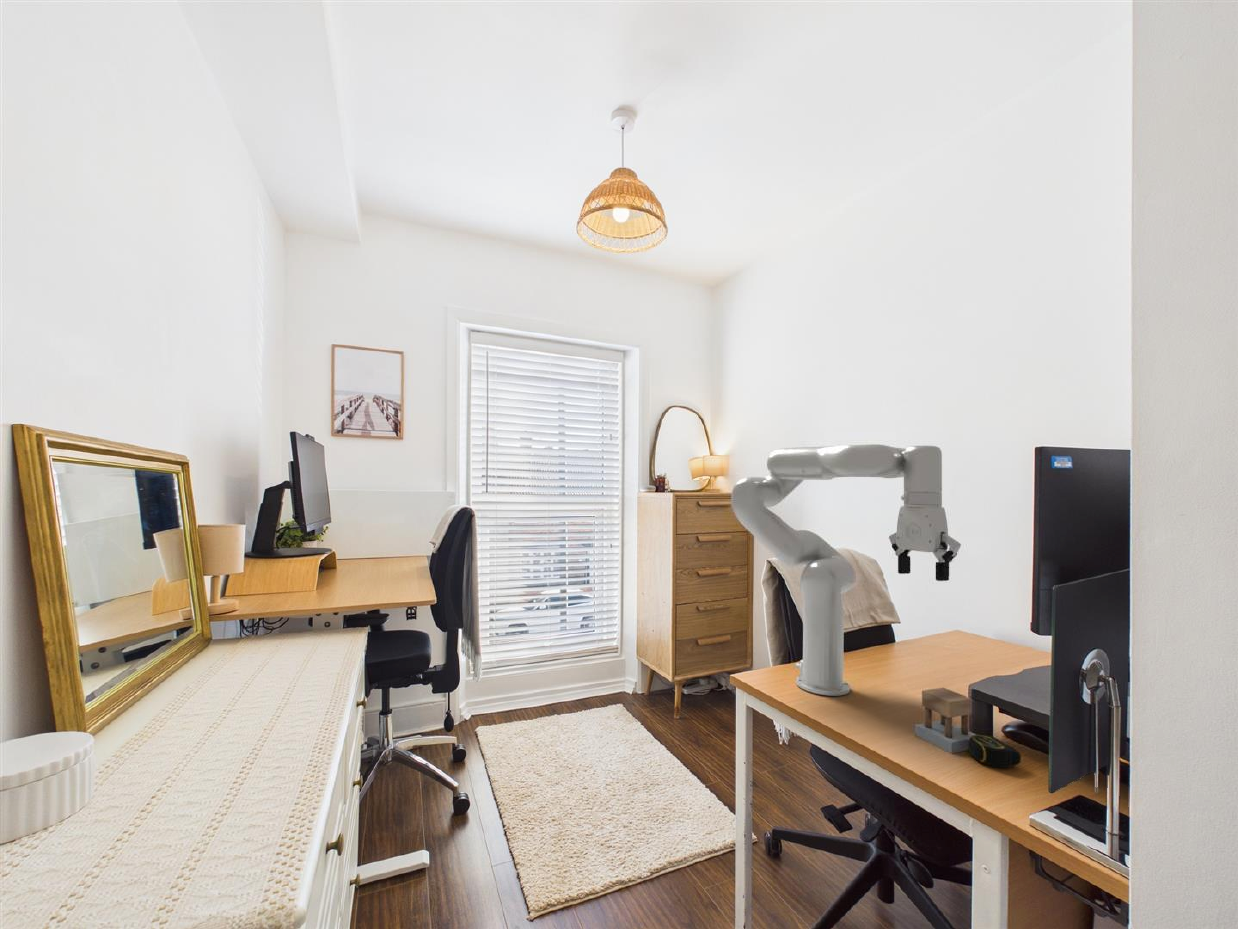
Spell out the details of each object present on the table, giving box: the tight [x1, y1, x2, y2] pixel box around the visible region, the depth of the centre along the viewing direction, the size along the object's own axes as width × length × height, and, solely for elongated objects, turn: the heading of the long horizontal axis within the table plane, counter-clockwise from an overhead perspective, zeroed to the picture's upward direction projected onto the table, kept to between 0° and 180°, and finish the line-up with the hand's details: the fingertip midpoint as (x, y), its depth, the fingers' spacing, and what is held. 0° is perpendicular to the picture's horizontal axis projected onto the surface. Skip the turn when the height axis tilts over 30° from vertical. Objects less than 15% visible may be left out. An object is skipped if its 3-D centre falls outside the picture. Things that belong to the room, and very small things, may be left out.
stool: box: [921, 687, 973, 738], centre depth 107 cm, size 6×6×7 cm
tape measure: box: [968, 734, 1022, 768], centre depth 99 cm, size 7×7×4 cm
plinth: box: [914, 719, 977, 754], centre depth 106 cm, size 8×8×2 cm
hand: (922, 576), depth 120 cm, fingers open, 9 cm apart
